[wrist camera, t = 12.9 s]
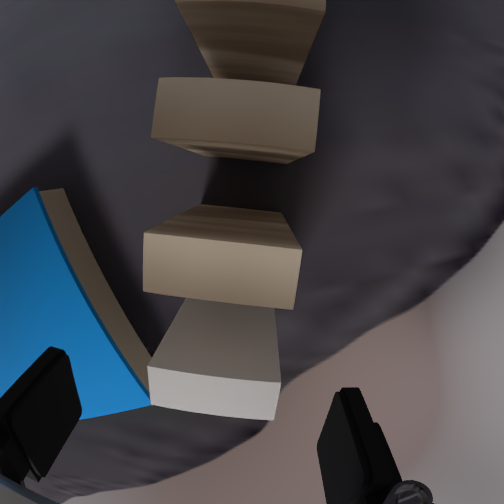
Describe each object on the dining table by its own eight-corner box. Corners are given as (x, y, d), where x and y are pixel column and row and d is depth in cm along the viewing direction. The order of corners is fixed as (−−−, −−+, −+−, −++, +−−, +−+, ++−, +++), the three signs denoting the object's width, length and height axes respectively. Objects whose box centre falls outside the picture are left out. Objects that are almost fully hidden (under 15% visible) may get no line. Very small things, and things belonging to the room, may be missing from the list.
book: (-78, 306, 19) (28, 183, 15) (-55, 293, 23) (64, 179, 20) (0, 434, 22) (157, 412, 19) (17, 414, 26) (172, 377, 23)
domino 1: (218, 52, 17) (185, -37, 7) (297, 59, 17) (327, -29, 7) (214, 79, 18) (174, 2, 8) (295, 87, 18) (325, 11, 8)
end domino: (196, 281, 21) (147, 366, 11) (272, 289, 21) (281, 382, 11) (194, 309, 21) (150, 404, 11) (268, 316, 21) (273, 420, 11)
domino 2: (208, 124, 18) (159, 77, 9) (290, 132, 18) (320, 89, 9) (205, 156, 19) (150, 137, 9) (287, 164, 19) (314, 151, 9)
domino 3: (200, 204, 19) (144, 232, 10) (281, 212, 19) (302, 249, 10) (198, 235, 20) (143, 291, 10) (277, 244, 20) (293, 309, 10)
